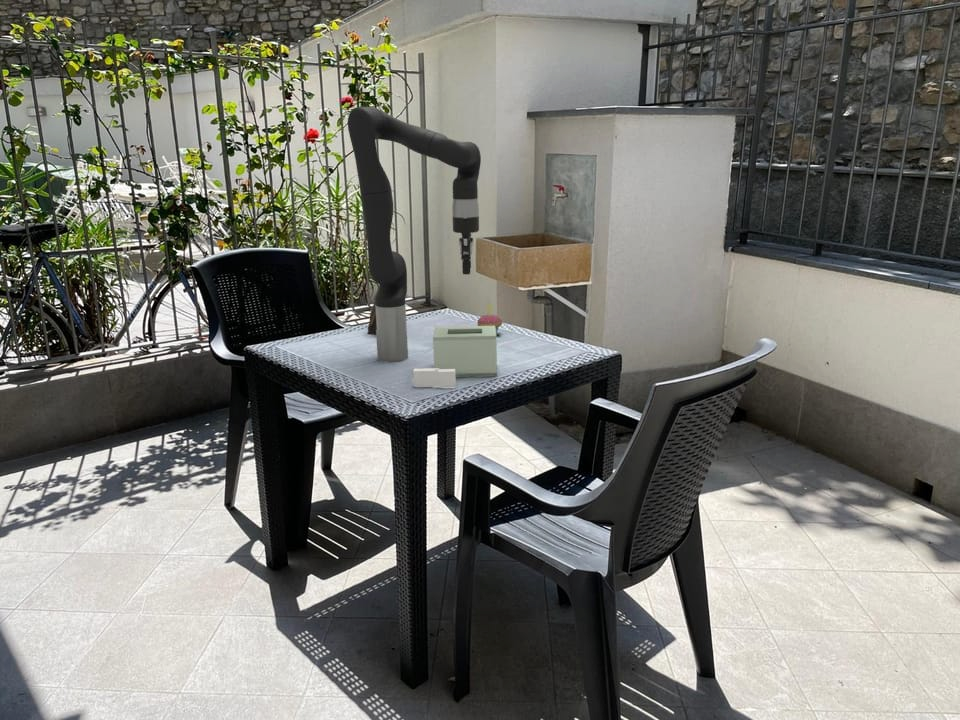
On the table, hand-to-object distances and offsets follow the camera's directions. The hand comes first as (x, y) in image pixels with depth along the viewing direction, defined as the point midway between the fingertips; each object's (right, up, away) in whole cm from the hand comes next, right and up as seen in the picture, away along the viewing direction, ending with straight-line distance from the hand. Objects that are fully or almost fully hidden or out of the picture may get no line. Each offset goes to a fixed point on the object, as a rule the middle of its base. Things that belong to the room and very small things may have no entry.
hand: (466, 271), depth 216 cm
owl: (-30, -16, +50) cm, 61 cm away
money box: (0, -29, +4) cm, 29 cm away
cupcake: (+7, -17, +44) cm, 47 cm away
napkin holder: (-8, -34, -10) cm, 36 cm away
